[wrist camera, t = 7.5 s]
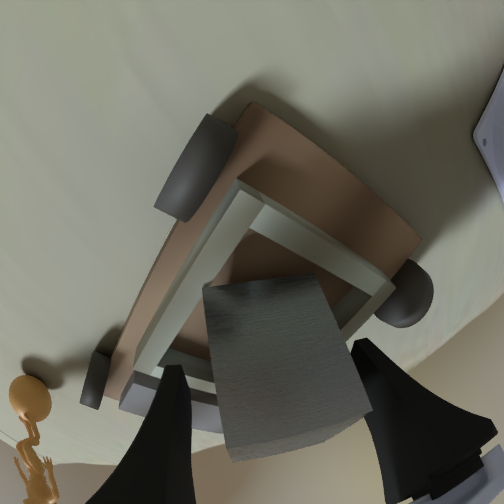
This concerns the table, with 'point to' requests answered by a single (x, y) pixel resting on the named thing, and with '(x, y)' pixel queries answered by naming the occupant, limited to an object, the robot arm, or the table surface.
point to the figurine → (31, 411)
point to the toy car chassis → (256, 254)
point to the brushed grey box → (279, 366)
